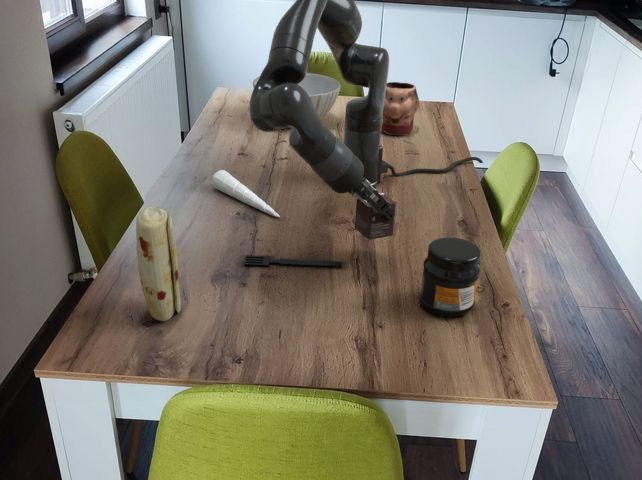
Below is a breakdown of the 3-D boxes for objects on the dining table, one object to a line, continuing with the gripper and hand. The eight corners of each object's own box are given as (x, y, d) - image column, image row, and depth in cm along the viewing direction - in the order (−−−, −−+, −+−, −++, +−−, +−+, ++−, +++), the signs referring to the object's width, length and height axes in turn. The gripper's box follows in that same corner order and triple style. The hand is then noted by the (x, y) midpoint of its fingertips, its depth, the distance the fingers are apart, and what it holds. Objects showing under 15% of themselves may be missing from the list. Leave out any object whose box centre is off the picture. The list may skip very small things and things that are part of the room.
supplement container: (473, 322, 130) (483, 265, 123) (416, 315, 131) (423, 258, 124) (473, 294, 139) (484, 239, 132) (420, 287, 140) (427, 232, 133)
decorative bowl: (338, 138, 211) (340, 97, 204) (249, 134, 211) (248, 92, 204) (339, 112, 233) (340, 74, 226) (258, 108, 233) (257, 69, 226)
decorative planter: (378, 118, 229) (382, 74, 221) (416, 121, 228) (421, 77, 220) (375, 138, 213) (378, 91, 205) (415, 141, 212) (420, 94, 204)
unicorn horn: (266, 223, 161) (266, 203, 158) (211, 189, 175) (210, 171, 173) (283, 218, 163) (283, 198, 161) (227, 185, 178) (226, 167, 175)
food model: (148, 299, 132) (136, 199, 120) (184, 299, 132) (175, 199, 121) (141, 328, 124) (127, 223, 112) (180, 327, 124) (170, 224, 113)
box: (367, 240, 142) (370, 207, 138) (353, 228, 146) (355, 195, 142) (393, 235, 145) (397, 202, 140) (378, 224, 149) (381, 191, 145)
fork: (341, 261, 148) (342, 259, 147) (341, 270, 144) (342, 268, 144) (246, 257, 147) (246, 255, 147) (244, 266, 144) (244, 264, 144)
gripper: (368, 160, 127) (414, 210, 138) (329, 135, 137) (375, 184, 148) (341, 193, 127) (389, 240, 139) (304, 166, 137) (352, 212, 149)
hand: (382, 211), depth 144 cm, fingers closed on box, 6 cm apart
